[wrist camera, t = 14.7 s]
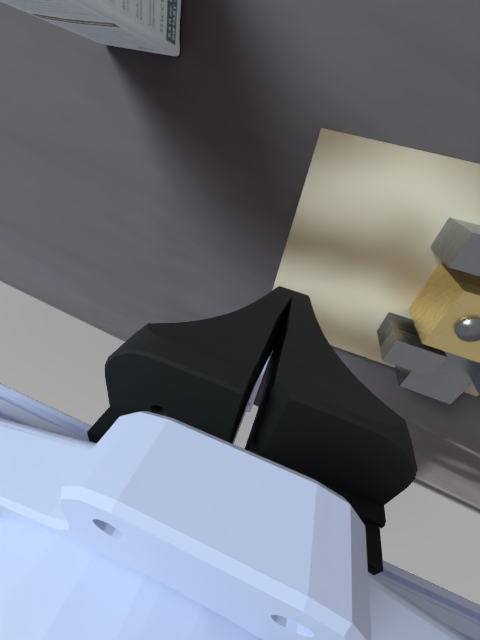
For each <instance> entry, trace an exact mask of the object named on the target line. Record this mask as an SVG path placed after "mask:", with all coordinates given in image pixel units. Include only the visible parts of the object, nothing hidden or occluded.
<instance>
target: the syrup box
mask: <svg viewBox="0 0 480 640" xmlns="http://www.w3.org/2000/svg"><path fill="white" fill-rule="evenodd" d="M0 2H3V3H5V4H8V5H10V6H12V7H15V8H17V9H19V10H22V11H24V12H27V13H29V14H31V15H34V16H36V17H38V18H41V19H43V20H45V21H47V22H50V23H52V24H54V25H57V26H60V27H62V28H65V29H67V30H69V31H72V32H74V33H77V34H79V35H81V36H84V37H86V38H89V39H91V40H93V41H95V42H98V43H101V44H103V45H109V46H116V47H122V48H128V49H134V50H139V51H145V52H151V53H157V54H163V55H169V56H179V54H180V41H179V36H180V15H181V0H0Z"/></svg>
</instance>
